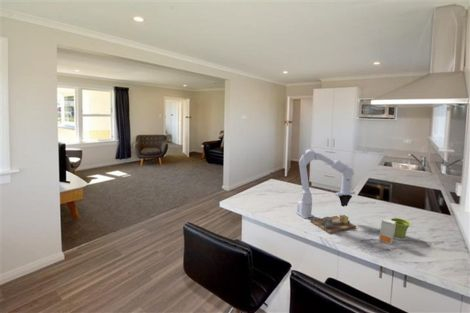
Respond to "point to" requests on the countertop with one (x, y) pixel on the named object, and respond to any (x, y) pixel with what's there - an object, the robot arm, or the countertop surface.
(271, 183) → the countertop surface
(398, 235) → the plant pot
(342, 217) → the leg
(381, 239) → the skincare box
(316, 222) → the board
